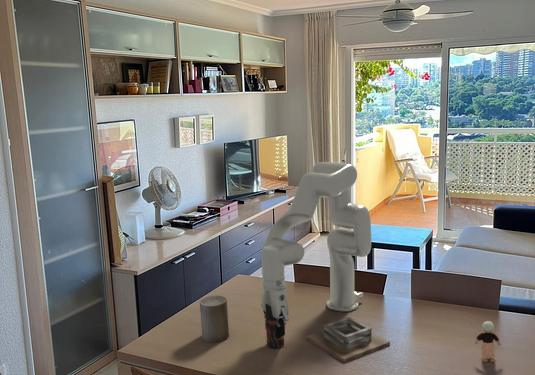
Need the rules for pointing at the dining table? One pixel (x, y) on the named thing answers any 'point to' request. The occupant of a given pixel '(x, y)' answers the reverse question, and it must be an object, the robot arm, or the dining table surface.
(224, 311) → the pillar candle
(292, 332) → the dining table surface
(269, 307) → the deodorant
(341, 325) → the collar stand
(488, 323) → the grandmother figurine
